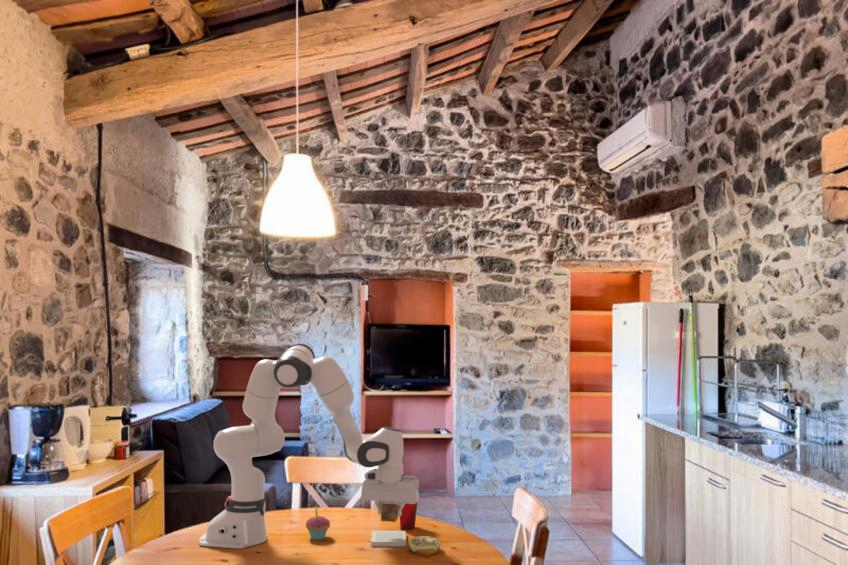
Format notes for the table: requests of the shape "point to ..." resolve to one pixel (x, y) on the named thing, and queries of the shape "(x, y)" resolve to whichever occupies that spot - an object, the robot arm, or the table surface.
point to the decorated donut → (424, 545)
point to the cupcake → (317, 526)
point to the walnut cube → (389, 512)
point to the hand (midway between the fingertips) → (389, 514)
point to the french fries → (408, 516)
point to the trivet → (388, 538)
